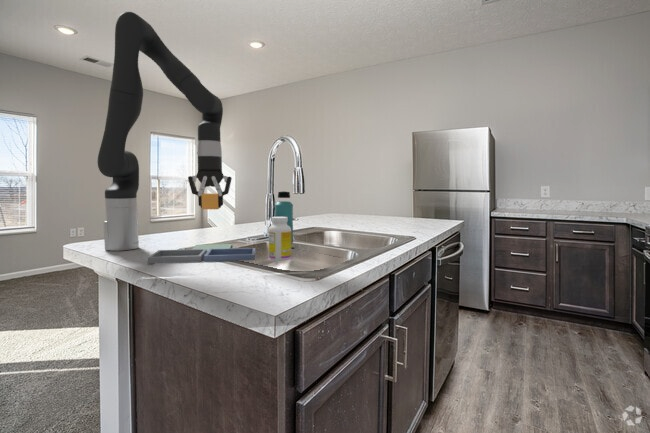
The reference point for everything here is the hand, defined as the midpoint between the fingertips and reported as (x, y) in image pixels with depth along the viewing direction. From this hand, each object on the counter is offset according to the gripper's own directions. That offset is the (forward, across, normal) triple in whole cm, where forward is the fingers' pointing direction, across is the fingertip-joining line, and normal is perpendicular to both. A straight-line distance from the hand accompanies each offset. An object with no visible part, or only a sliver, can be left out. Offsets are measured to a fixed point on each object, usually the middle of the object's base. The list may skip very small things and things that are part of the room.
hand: (210, 207), depth 115 cm
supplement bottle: (+15, -22, +17) cm, 32 cm away
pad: (+15, 0, 0) cm, 15 cm away
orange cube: (0, 0, 0) cm, 0 cm away
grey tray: (+15, +8, +13) cm, 21 cm away
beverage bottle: (+15, -24, +1) cm, 28 cm away
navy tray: (+15, -8, +13) cm, 21 cm away
